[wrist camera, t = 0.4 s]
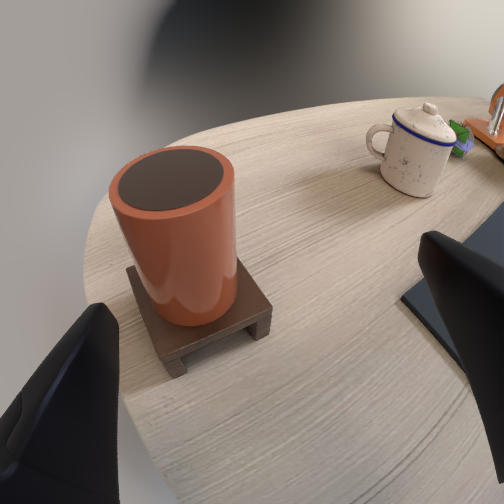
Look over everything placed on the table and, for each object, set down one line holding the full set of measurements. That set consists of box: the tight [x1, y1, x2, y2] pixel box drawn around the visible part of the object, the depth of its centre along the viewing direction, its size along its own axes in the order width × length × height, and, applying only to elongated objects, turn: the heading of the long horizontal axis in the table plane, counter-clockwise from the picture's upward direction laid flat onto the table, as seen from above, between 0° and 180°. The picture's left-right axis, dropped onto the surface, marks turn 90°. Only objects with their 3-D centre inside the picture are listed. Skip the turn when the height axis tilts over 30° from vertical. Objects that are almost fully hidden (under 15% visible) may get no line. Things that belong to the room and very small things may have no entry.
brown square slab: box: [126, 257, 273, 379], centre depth 22 cm, size 8×8×4 cm
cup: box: [109, 146, 238, 326], centre depth 17 cm, size 6×6×9 cm
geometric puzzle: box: [448, 119, 476, 157], centre depth 43 cm, size 7×7×8 cm
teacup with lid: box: [366, 103, 456, 197], centre depth 34 cm, size 12×9×12 cm
